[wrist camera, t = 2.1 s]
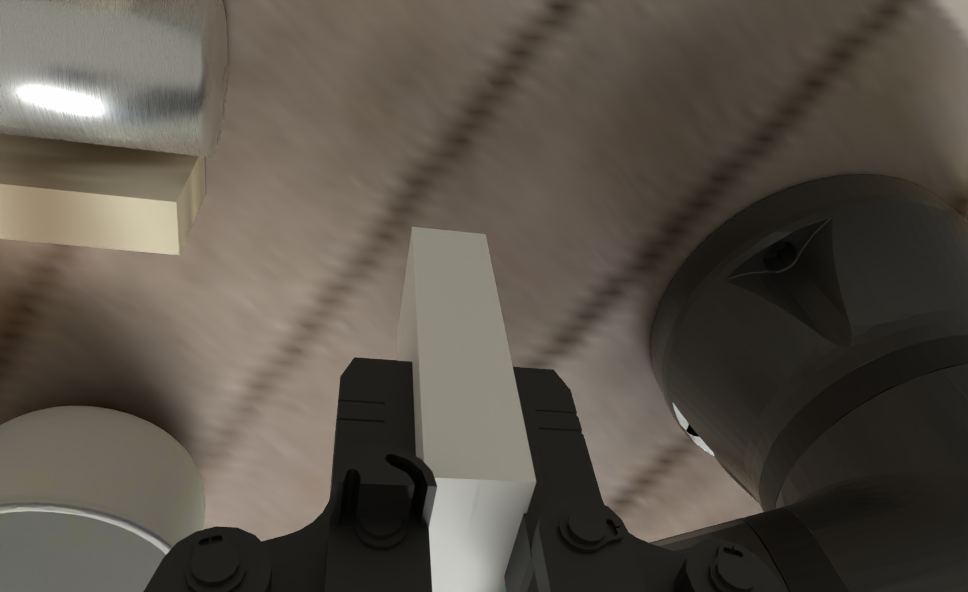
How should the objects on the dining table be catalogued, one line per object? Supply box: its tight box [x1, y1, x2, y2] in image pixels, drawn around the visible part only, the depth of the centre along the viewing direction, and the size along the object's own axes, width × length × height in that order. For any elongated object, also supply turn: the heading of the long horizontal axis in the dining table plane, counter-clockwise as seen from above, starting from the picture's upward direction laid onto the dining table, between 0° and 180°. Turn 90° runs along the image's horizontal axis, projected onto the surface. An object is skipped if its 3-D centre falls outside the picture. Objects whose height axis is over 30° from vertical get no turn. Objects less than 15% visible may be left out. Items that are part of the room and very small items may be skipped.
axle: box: [0, 0, 228, 157], centre depth 23 cm, size 11×5×5 cm, turn 80°
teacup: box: [0, 406, 205, 592], centre depth 34 cm, size 14×11×8 cm
